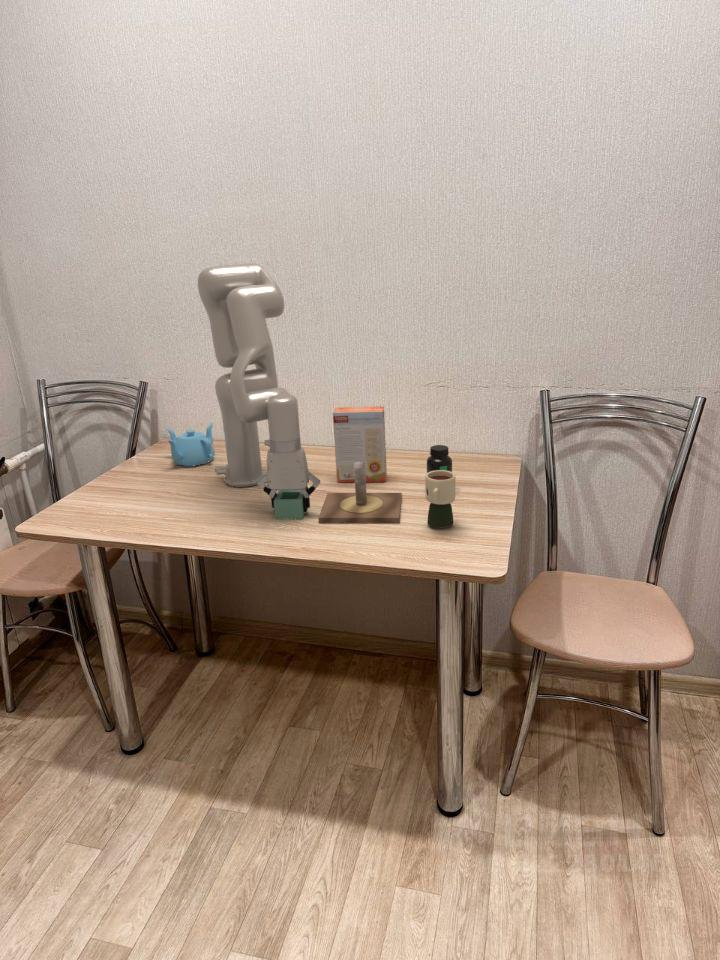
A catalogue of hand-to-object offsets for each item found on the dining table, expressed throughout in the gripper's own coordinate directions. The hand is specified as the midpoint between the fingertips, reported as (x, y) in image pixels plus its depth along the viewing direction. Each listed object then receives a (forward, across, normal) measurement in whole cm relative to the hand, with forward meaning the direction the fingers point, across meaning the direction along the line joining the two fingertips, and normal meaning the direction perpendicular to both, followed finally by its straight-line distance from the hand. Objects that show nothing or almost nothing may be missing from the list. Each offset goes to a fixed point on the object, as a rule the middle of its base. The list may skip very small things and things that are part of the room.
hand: (291, 509), depth 178 cm
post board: (+1, +18, +2) cm, 18 cm away
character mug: (+1, +38, -7) cm, 39 cm away
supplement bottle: (+1, +38, +16) cm, 41 cm away
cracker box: (+1, +16, +24) cm, 29 cm away
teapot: (+1, -40, +41) cm, 57 cm away
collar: (+1, 0, 0) cm, 1 cm away
